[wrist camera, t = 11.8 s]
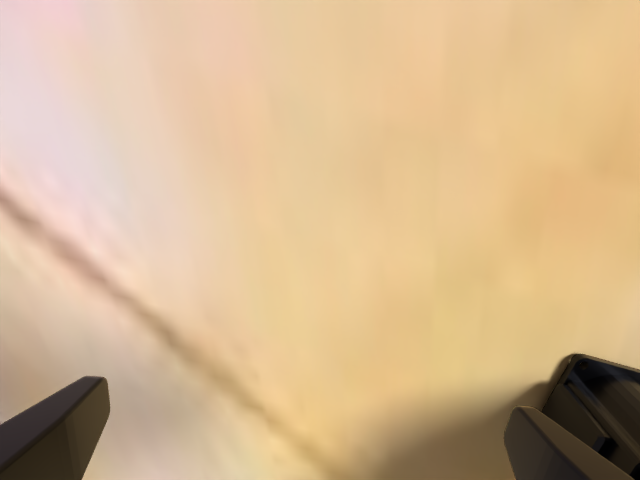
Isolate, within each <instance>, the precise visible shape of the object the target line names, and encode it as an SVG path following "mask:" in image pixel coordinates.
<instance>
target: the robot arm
mask: <svg viewBox="0 0 640 480" xmlns="http://www.w3.org/2000/svg"><path fill="white" fill-rule="evenodd" d="M582 362H584V363H583V364H581V365H579V364H580V363H582ZM109 413H110V400H109V391H108V383H107V380H106V378H104V377H99V376H85V377H82V378H81V379H79V380H77V381H75V382H74V383H72V384H70V385H68V386H67V387H65V388H63V389H61V390H60V391H58V392H56V393H55V394H53V395H51V396H49V397H48V398H46V399H44V400H42V401H41V402H39V403H37V404H35V405H34V406H32V407H30V408H28V409H27V410H25V411H23V412H22V413H20V414H18V415H16V416H15V417H13V418H11V419H9V420H8V421H6V422H4V423H2V424H1V425H0V480H82V478H83V475H84V473H85V471H86V468H87V466H88V464H89V461H90V459H91V457H92V454H93V452H94V450H95V448H96V445H97V443H98V441H99V438H100V436H101V434H102V431H103V429H104V427H105V424H106V422H107V420H108V417H109ZM504 443H505V447H506V450H507V453H508V456H509V460H510V463H511V466H512V469H513V472H514V475H515V478H516V480H640V370H639V369H635V368H631V367H628V366H624V365H621V364H617V363H614V362H610V361H606V360H603V359H599V358H596V357H592V356H588V355H585V354H578V355H575V356H574V357H573V358H572V359H571V361H570V363H569V364H568V366H567V368H566V370H565V371H564V373H563V375H562V377H561V378H560V380H559V382H558V384H557V385H556V387H555V389H554V391H553V392H552V394H551V396H550V398H549V399H548V401H547V403H546V405H545V406H544V408H543V410H542V412H540V411H539V410H537V409H536V408H534V407H529V406H515V407H514V408H513V409H512V411H511V414H510V417H509V420H508V423H507V426H506V429H505V432H504Z"/></svg>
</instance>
